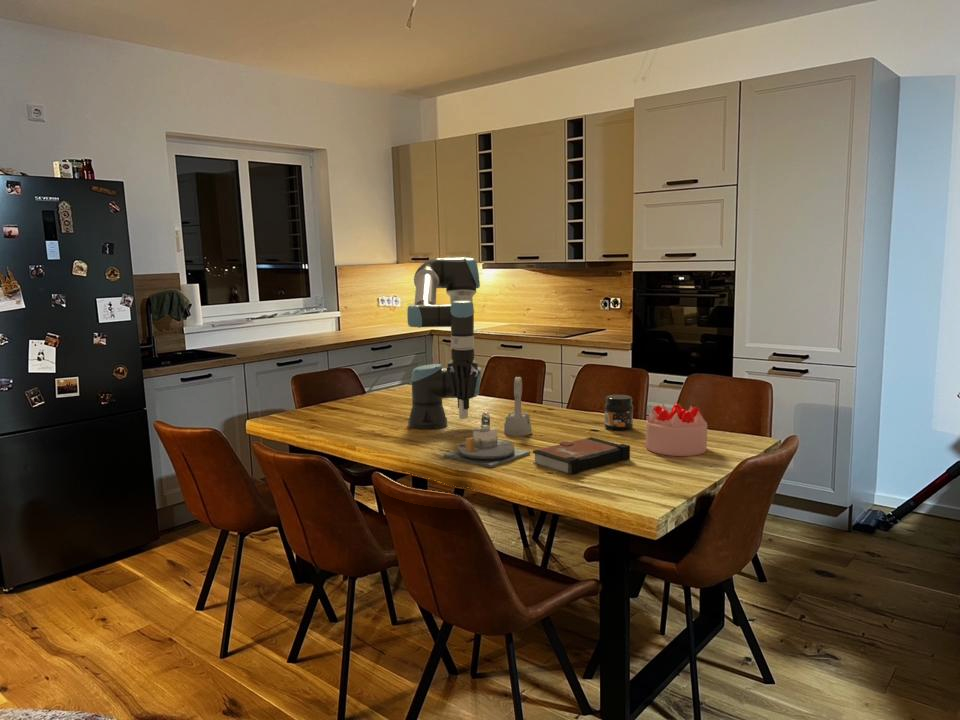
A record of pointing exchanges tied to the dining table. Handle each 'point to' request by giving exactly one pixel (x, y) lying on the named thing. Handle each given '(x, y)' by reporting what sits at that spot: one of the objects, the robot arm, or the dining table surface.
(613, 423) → the supplement container
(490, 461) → the base plate
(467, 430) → the dining table surface
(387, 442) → the dining table surface
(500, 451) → the turntable
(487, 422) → the stand
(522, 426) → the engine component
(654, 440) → the cake
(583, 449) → the book
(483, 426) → the cover
